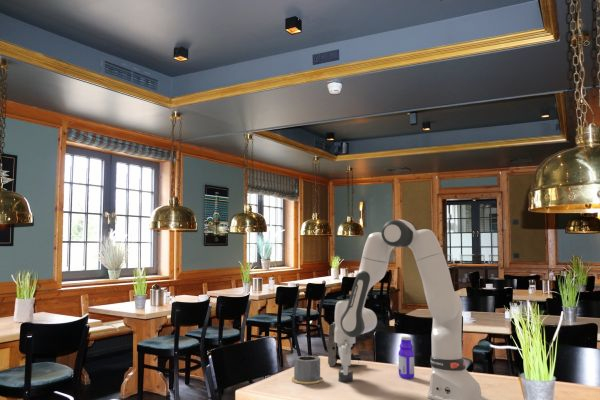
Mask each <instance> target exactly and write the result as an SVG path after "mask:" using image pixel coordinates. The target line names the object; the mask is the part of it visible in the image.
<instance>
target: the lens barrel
mask: <svg viewBox="0 0 600 400" xmlns="http://www.w3.org/2000/svg"><path fill="white" fill-rule="evenodd" d="M293 365H294V366H293V367H294V368H293V374H294V375H293V376H292V377H291V381H292V383H294V384H298V385H318V384H321V383H322V382H323V381H324V380H323V379H324V378H323V377H322V376H321V357H319V356H316V355H299V356H295V357H294V364H293Z"/></svg>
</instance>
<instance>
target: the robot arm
mask: <svg viewBox="0 0 600 400" xmlns="http://www.w3.org/2000/svg"><path fill="white" fill-rule="evenodd" d="M394 248H409V249H410V250H411V252H412V255H413V257H414V260H415V263H416V266H417V269H418V272H419V275H420V278H421V282H422V286H423V292H424V295H425V300H426V303H427V304H426V305H427V308H428V312H429V314H430V316H431V317H432V325H431V326H432V327H431V355H430V366H431V371H430V377H429V387H428V392H427V398H428V399H430V400H489V399H488V398H486V397H485V396H482V388H481V385H480V383H479V382H478V381H477V380H476V379H475V377H473V376H472V374H471V373H470V372H469V371H468V370H467V365H469V364H468V361H464V357H463V352H462V349H463V348H462V345H463V344H462V329H463V327H462V325H463V302H462V298H461V296H460V295H459V294H458V293H457V292H456V291H455V289H454V285H453V282H452V277H451V273H450V272H451V271H450V268H449V266H448V263H447V260H446V258H445V254H444V252H443V249H442V246H441V244H440V241H439V240H438V237H437V236H436V235H435V233H434V231H433V230H431V229H427V228H423V229H417V226H415V224H414V223H412V222H411V221H408V220H405V219H390V220H389V221H387V222H386V223H385V224H384V225H383V226H382V228H381V232H380V231H379V232H378V231H377V232H376V231H375V232H371V233H370V234H369V235H368V236H367V239H366V241H365V244H364V247H363V250H362V256H361V259H360V264H359V267H358V271H357V274H356V276H355V279H354V282H353V284H352V287H351V291H350V296H349V298H348V299H342V300H338V301H337V302H336V304H335V307H334V321H335V324H336V325H335V331H334V342H335V343H337V346H338V351H339V356H340V359H341V360H340V361H341V370H343V374H344V375H348V370H349V366H352V365H351V364H352V360H351V355H352V350H351V347H352V344H353V343H355V344H356V342H355V341H356V339H355V337H356V336H358V337H359V336H361V335H363V334H366V333H369V332H371V331H373V330H375V329H376V327H377V324H378V317H377V315H376V313H375V312H374V311H373V310H372V309H370V308H366V307H365V304H366V301H367V296H368V294H369V292H370V290H371V288H373V286H375V285H376V284H377V283H378V282H380V281H381V280H382V279H383V278H384V277H385V275H386V274H387V270H388V266H389V263H390V262H389V261H390V256H391V253H392V251H393V249H394Z"/></svg>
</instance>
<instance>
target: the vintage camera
mask: <svg viewBox="0 0 600 400" xmlns="http://www.w3.org/2000/svg"><path fill="white" fill-rule="evenodd" d="M335 325H336V324H335V320H334V321H333V322H331V324H330V325H329V327H328V344H327V345H328V347H327V348H328V351H327V354H328V355H327V363H328V365H329V367H334V366H336V363H337V362H338V360H339V361H341V359H340V356H339V351H338V346H337V343H335V342H334V331H335ZM358 337H359V336H356V337H355V343H353V344H352V347H351V351H352V350H353V349H354V348H355V345H356V342H357V341H356V340H357V339H358ZM362 359H363V356H362V354H354V353H353V352H351V361H357V362H358V363H360V361H362Z"/></svg>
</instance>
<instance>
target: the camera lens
mask: <svg viewBox="0 0 600 400" xmlns="http://www.w3.org/2000/svg"><path fill="white" fill-rule="evenodd" d="M338 382H339V383H353V382H354V372H353V370H351V369H348V375H344V374H343V369H339V370H338Z"/></svg>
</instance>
